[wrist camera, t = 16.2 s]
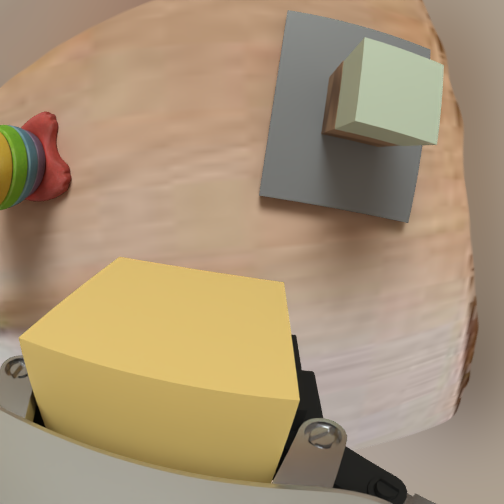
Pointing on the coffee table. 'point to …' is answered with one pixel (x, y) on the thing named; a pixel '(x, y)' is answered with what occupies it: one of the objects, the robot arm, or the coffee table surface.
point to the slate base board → (323, 146)
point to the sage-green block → (390, 95)
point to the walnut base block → (331, 114)
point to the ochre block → (170, 368)
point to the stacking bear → (31, 162)
